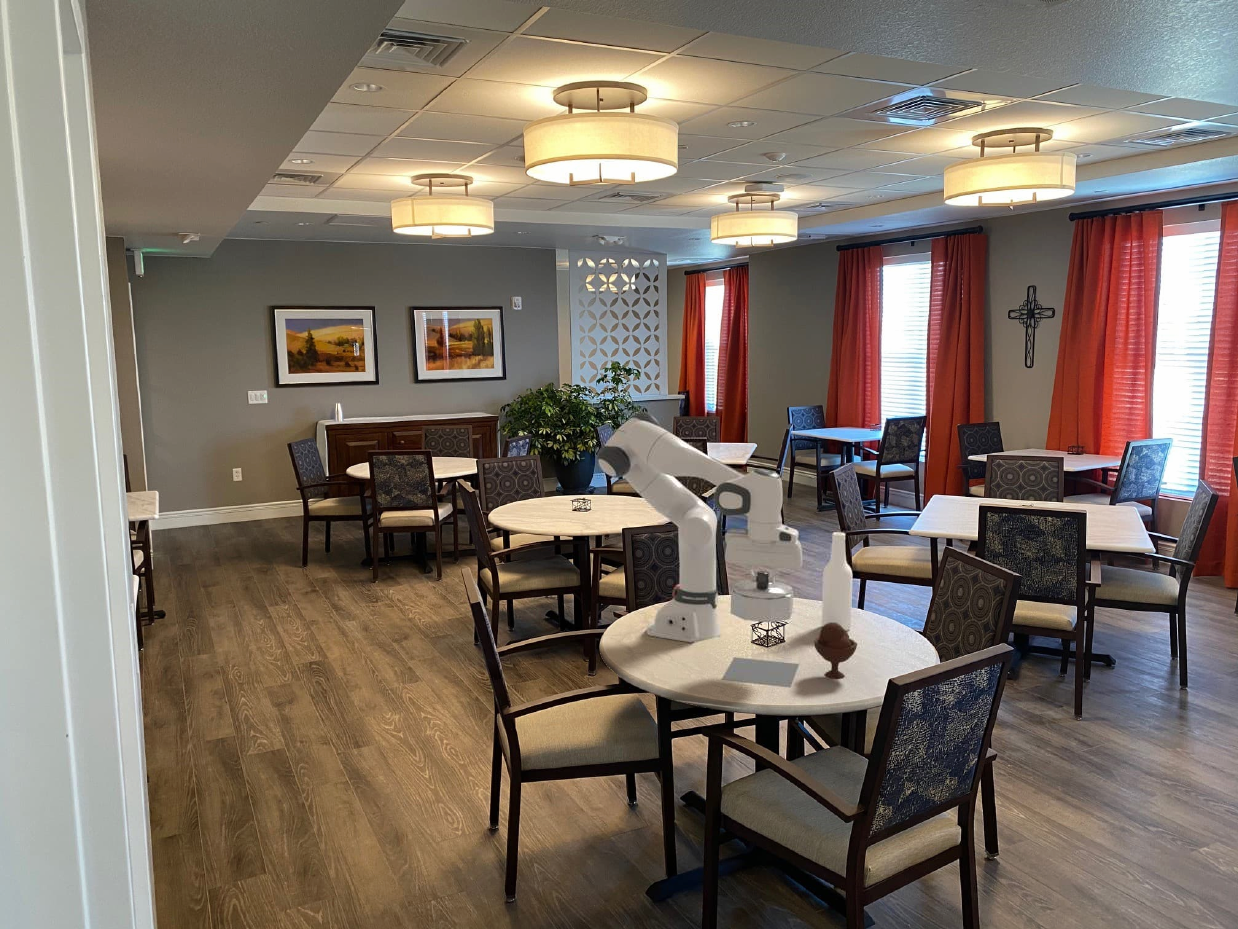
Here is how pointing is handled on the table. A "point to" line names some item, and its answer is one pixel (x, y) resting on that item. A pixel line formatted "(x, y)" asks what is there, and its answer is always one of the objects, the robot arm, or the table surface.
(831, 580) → the alcohol
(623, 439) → the robot arm
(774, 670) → the mat
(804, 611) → the table surface
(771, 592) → the cover
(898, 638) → the table surface
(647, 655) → the table surface
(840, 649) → the ice cream bowl
